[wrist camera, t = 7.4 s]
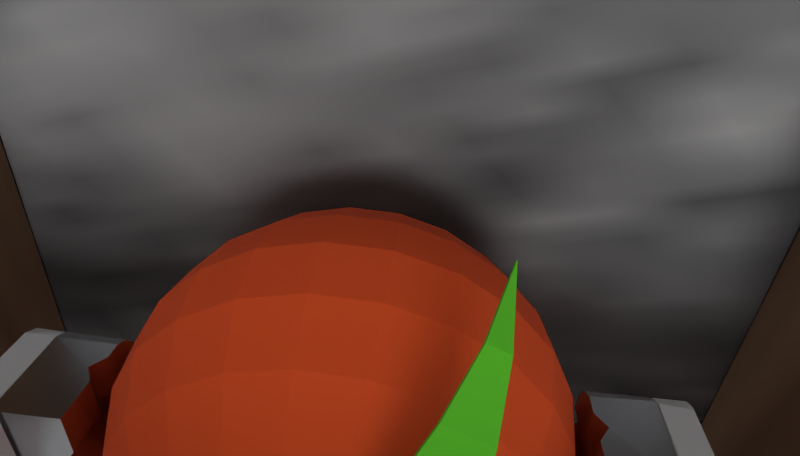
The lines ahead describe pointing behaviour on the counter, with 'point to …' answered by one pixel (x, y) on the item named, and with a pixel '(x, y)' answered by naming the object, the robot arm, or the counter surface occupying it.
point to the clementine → (343, 351)
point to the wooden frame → (723, 424)
